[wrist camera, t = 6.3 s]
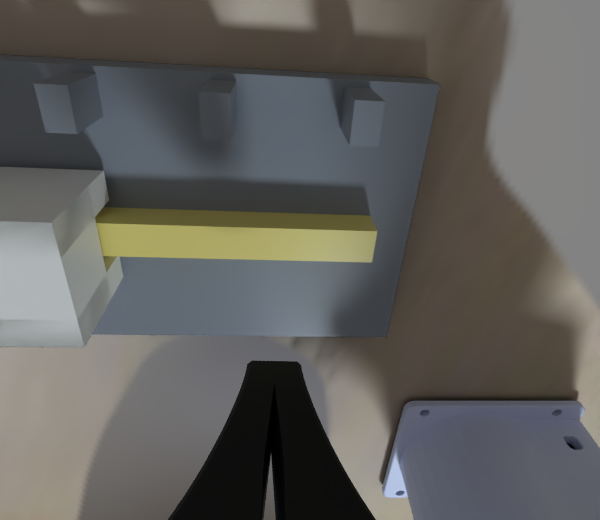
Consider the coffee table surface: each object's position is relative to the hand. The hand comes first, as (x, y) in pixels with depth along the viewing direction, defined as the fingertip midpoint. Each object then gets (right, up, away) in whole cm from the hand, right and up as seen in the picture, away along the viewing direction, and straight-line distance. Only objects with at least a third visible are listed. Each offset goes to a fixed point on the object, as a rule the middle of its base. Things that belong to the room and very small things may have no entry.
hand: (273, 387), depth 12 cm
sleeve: (-8, +5, +3) cm, 9 cm away
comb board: (-4, +5, +4) cm, 8 cm away
